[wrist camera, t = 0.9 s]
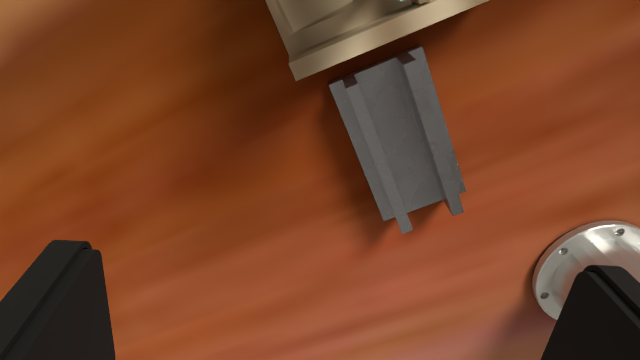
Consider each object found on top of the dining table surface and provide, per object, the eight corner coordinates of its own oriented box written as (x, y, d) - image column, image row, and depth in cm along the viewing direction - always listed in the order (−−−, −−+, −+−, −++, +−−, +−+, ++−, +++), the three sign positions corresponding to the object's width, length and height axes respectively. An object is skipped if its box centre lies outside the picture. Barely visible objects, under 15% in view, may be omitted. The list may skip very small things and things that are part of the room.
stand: (419, 44, 37) (432, 53, 34) (462, 186, 43) (477, 207, 39) (328, 82, 38) (330, 94, 35) (382, 215, 44) (389, 238, 40)
